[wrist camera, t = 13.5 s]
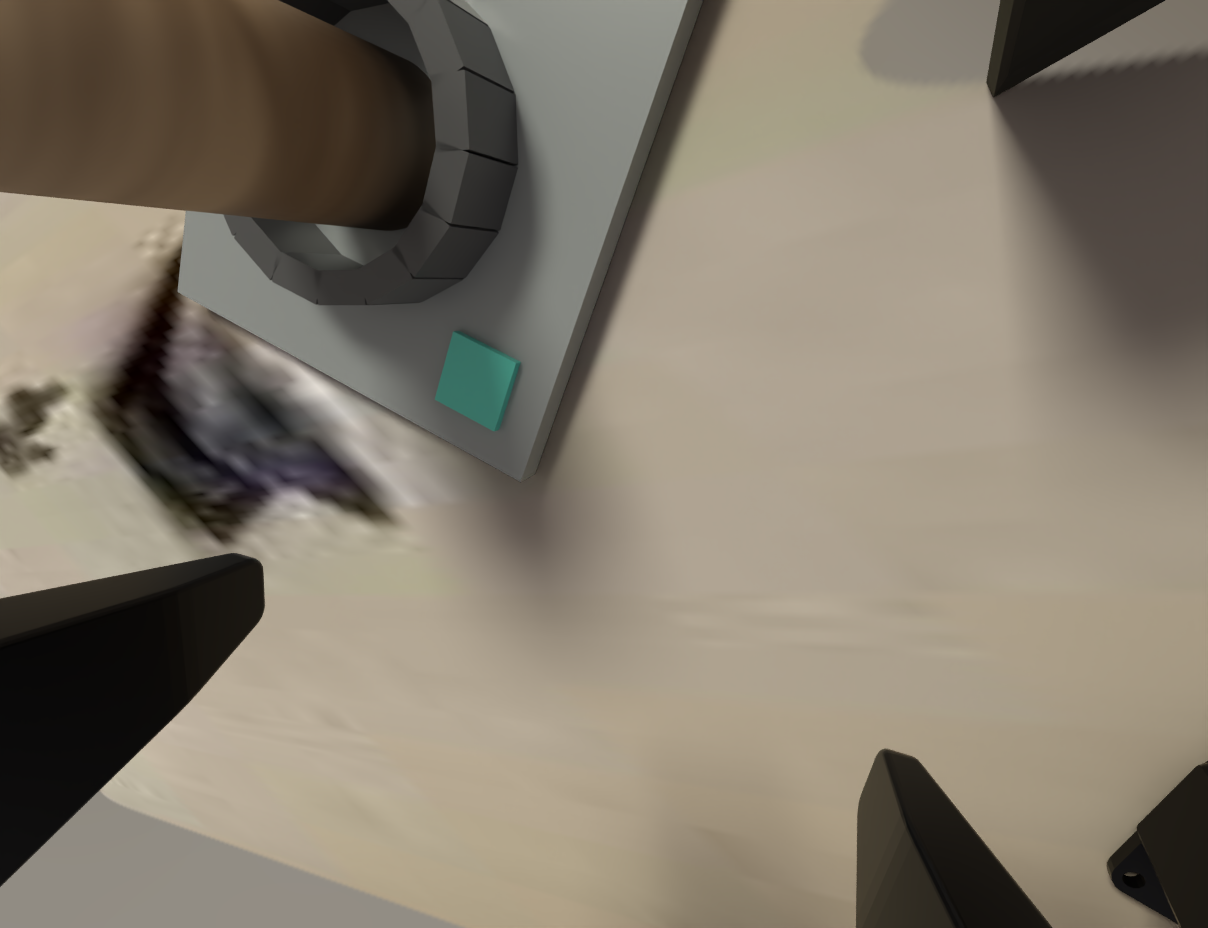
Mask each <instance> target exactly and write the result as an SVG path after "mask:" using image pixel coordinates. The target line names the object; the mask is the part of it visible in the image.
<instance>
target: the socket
mask: <svg viewBox="0 0 1208 928" xmlns="http://www.w3.org/2000/svg"><path fill="white" fill-rule="evenodd" d="M279 1H281V2H283V3H285V4H288V5H290V6H292V7H294V8H296V9H298V10H301V11H303V12H305V13H307V14H309V15H311V16H314V17H316V18H318V19H320V20H322V21H324V22H326V23H329V24H331V25H333V26H335V27H337V28H339V29H342V30H344V31H346V32H348V33H350V34H352V35H355V36H357V37H359V38H361V39H363V40H365V41H368V42H370V43H372V44H374V45H376V46H378V47H381V48H383V49H385V50H387V51H389V52H391V53H393V54H396V55H398V56H400V57H402V58H404V59H406V60H409V61H410V62H412V63H413V64H415V65H416V66H418V67H419V68H420V69H421V70H422V71H423V72H424V73H425V74H426V75H427V76H428V77H429V79H430V80H431V82H432V96H433V110H434V124H435V138H436V149H435V153H434V157H433V161H432V166H431V170H430V174H429V178H428V183H427V187H426V191H425V195H424V200H423V204H422V206H421V207H420V209H419V210H418V212H417V213H416V215H415V216H414V218H413V219H412V221H411V222H410V224H409V225H408V227H406V228H403V229H400V230H394V231H383V230H373V229H363V228H353V227H343V226H334V225H324V224H314V223H304V222H294V221H284V220H274V219H264V218H254V217H244V216H234V215H224V214H214V213H205V212H195V211H186V215H185V225H184V235H183V245H182V255H181V265H180V275H179V285H178V292H179V293H180V294H182V295H184V296H186V297H188V298H189V299H191V300H193V301H195V302H197V303H198V304H200V305H202V306H204V307H206V308H207V309H209V310H211V311H213V312H215V313H216V314H218V315H220V316H222V317H224V318H225V319H227V320H229V321H231V322H233V323H234V324H236V325H238V326H240V327H242V328H244V329H245V330H247V331H249V332H251V333H253V334H254V335H256V336H258V337H260V338H262V339H263V340H265V341H267V342H269V343H271V344H272V345H274V346H276V347H278V348H280V349H281V350H283V351H285V352H287V353H289V354H290V355H292V356H294V357H296V358H298V359H299V360H301V361H303V362H305V363H307V364H308V365H310V366H312V367H314V368H316V369H317V370H319V371H321V372H323V373H325V374H326V375H328V376H330V377H332V378H334V379H335V380H337V381H339V382H341V383H343V384H344V385H346V386H348V387H350V388H352V389H353V390H355V391H357V392H359V393H361V394H363V395H364V396H366V397H368V398H370V399H372V400H373V401H375V402H377V403H379V404H381V405H382V406H384V407H386V408H388V409H390V410H391V411H393V412H395V413H397V414H399V415H400V416H402V417H404V418H406V419H408V420H409V421H411V422H413V423H415V424H417V425H418V426H420V427H422V428H424V429H426V430H427V431H429V432H431V433H433V434H435V435H436V436H438V437H440V438H442V439H444V440H445V441H447V442H449V443H451V444H453V445H454V446H456V447H458V448H460V449H462V450H463V451H465V452H467V453H469V454H471V455H473V456H474V457H476V458H478V459H480V460H482V461H483V462H485V463H487V464H489V465H491V466H492V467H494V468H496V469H498V470H500V471H501V472H503V473H505V474H507V475H509V476H510V477H512V478H514V479H516V480H518V481H519V482H521V481H523V480H525V479H527V478H529V477H531V476H533V475H534V474H535V473H536V470H537V467H538V464H539V461H540V459H541V456H542V453H543V450H544V447H545V445H546V442H547V439H548V436H549V433H550V430H551V428H552V425H553V422H554V419H555V416H556V414H557V411H558V408H559V405H560V402H561V399H562V397H563V394H564V391H565V388H566V385H567V383H568V380H569V377H570V374H571V371H572V369H573V366H574V363H575V360H576V357H577V354H578V352H579V349H580V346H581V343H582V340H583V338H584V335H585V332H586V329H587V326H588V323H589V321H590V318H591V315H592V312H593V309H594V307H595V304H596V301H597V298H598V295H599V293H600V290H601V287H602V284H603V281H604V278H605V276H606V273H607V270H608V267H609V264H610V262H611V259H612V256H613V253H614V250H615V247H616V245H617V242H618V239H619V236H620V233H621V231H622V228H623V225H624V222H625V219H626V217H627V214H628V211H629V208H630V205H631V202H632V200H633V197H634V194H635V191H636V188H637V186H638V183H639V180H640V177H641V174H642V171H643V169H644V166H645V163H646V160H647V157H648V155H649V152H650V149H651V146H652V143H653V141H654V138H655V135H656V132H657V129H658V126H659V124H660V121H661V118H662V115H663V112H664V110H665V107H666V104H667V101H668V98H669V95H670V93H671V90H672V87H673V84H674V81H675V79H676V76H677V73H678V70H679V67H680V65H681V62H682V59H683V56H684V53H685V50H686V48H687V45H688V42H689V39H690V36H691V34H692V31H693V28H694V25H695V22H696V19H697V17H698V14H699V11H700V8H701V5H702V3H703V0H279Z"/></svg>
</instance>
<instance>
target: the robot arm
mask: <svg viewBox="0 0 1208 928" xmlns="http://www.w3.org/2000/svg"><path fill="white" fill-rule="evenodd" d="M264 608H265V597H264V575H263V566H262V564H261V563H260V561H258V560H257V559H255V558H251V557H248V556H245V555H241V554H237V553H230V554H225V555H220V556H214V557H209V558H204V559H199V560H194V561H189V562H184V563H179V564H174V565H169V566H164V567H158V568H153V569H148V570H143V571H138V572H133V573H128V574H123V575H118V576H113V577H108V578H102V579H97V580H92V581H87V582H82V583H77V584H72V585H67V586H62V587H57V588H51V589H46V590H41V591H36V592H31V593H26V594H21V595H16V596H11V597H6V598H1V599H0V887H1V886H2V885H3V883H5V882H6V881H7V880H8V879H9V878H10V877H11V876H12V875H13V874H14V873H15V872H16V871H17V870H18V869H19V868H20V867H21V866H22V865H23V864H24V863H25V862H26V861H27V860H28V859H30V858H31V857H32V856H33V855H34V854H35V853H36V852H37V851H38V850H39V849H40V848H41V847H42V846H43V845H44V844H45V843H46V842H47V841H48V840H49V839H50V838H51V837H52V836H53V835H54V834H55V833H56V832H57V831H58V830H59V829H60V828H61V827H62V826H63V825H64V824H65V823H66V822H68V821H69V820H70V819H71V818H72V817H73V816H74V815H75V814H76V813H77V812H78V811H79V810H80V809H81V808H82V807H83V806H84V805H85V804H86V803H87V802H88V801H89V800H90V799H91V798H92V797H93V796H94V795H95V794H96V793H97V792H98V791H99V790H100V789H101V788H102V787H103V786H105V785H106V784H107V783H108V782H109V781H110V780H111V779H112V778H113V777H114V776H115V775H116V774H117V773H118V772H119V771H120V770H121V769H122V768H123V767H124V766H125V765H126V764H127V763H128V762H129V761H130V760H131V759H132V758H133V757H134V756H135V755H136V754H137V753H138V752H139V751H140V750H141V749H143V748H144V747H145V746H146V745H147V744H148V743H149V742H150V741H151V740H152V739H153V738H154V737H155V736H156V735H157V734H158V733H159V732H160V731H161V730H162V729H163V728H164V727H165V726H166V725H167V724H168V723H169V722H170V721H171V720H172V719H173V718H174V717H175V716H176V715H177V714H178V713H179V712H180V711H181V710H182V709H183V708H184V707H185V706H186V705H187V704H188V703H189V702H190V701H191V700H192V699H193V698H194V697H195V695H196V694H197V693H198V692H199V691H200V690H201V689H202V688H203V686H204V685H205V684H206V683H207V682H208V681H209V679H210V678H211V677H212V676H213V675H214V674H215V672H216V671H217V670H218V669H219V668H220V667H221V665H222V664H223V663H224V662H225V661H226V660H227V659H228V657H229V656H230V655H231V654H232V653H233V652H234V650H235V649H236V648H237V647H238V646H239V645H240V643H241V642H242V641H243V640H244V639H245V638H246V636H247V635H248V634H249V633H250V632H251V631H252V629H253V628H254V627H255V626H256V625H257V624H258V622H259V621H260V619H261V617H262V615H263V612H264ZM1107 869H1108V872H1109V874H1110V877H1111V880H1112V882H1113V883H1114V885H1115V886H1116V887H1117V888H1118V889H1119V890H1121V891H1122V892H1124V893H1125V894H1127V895H1129V896H1130V897H1132V898H1134V899H1136V900H1137V901H1139V902H1141V903H1142V904H1144V905H1146V906H1148V907H1149V908H1151V909H1153V910H1154V911H1156V912H1158V913H1160V914H1161V915H1163V916H1165V917H1167V918H1168V919H1170V920H1172V921H1173V922H1175V923H1177V924H1179V927H1180V928H1208V761H1207V762H1206V763H1204V764H1201V765H1198V766H1196V767H1195V768H1194V769H1193V770H1192V771H1191V772H1190V773H1189V774H1188V775H1187V776H1186V777H1185V778H1184V779H1183V780H1182V781H1181V782H1180V783H1179V784H1178V785H1177V786H1176V787H1175V788H1174V789H1173V790H1172V791H1171V792H1170V793H1169V794H1168V795H1167V796H1166V797H1165V798H1164V799H1163V800H1162V801H1161V802H1160V803H1159V804H1158V805H1157V806H1156V807H1155V808H1154V809H1153V810H1152V811H1151V812H1150V813H1149V814H1148V815H1147V816H1146V817H1145V818H1144V819H1143V820H1142V821H1141V822H1140V823H1139V824H1138V826H1137V831H1136V832H1135V833H1134V834H1133V835H1132V836H1131V837H1130V838H1129V839H1128V840H1127V841H1126V842H1125V843H1124V844H1123V845H1122V846H1121V847H1120V848H1119V849H1118V850H1117V851H1116V852H1115V853H1114V854H1113V855H1112V856H1111V857H1110V858H1109V860H1108V862H1107ZM1127 872H1136V873H1138V875H1136V876H1126V875H1124V874H1125V873H1127ZM856 928H1052V926H1051V925H1050V924H1049V923H1048V921H1047V920H1046V919H1045V918H1044V916H1043V915H1042V914H1041V913H1040V911H1039V910H1038V909H1037V908H1036V906H1035V905H1034V904H1033V903H1032V901H1031V900H1030V899H1029V898H1028V896H1027V895H1026V894H1025V893H1024V891H1023V890H1022V889H1021V888H1020V886H1019V885H1018V884H1017V883H1016V881H1015V880H1014V879H1013V878H1012V876H1011V875H1010V874H1009V873H1008V871H1007V870H1006V869H1005V868H1004V866H1003V865H1002V864H1001V863H1000V861H999V860H998V859H997V858H996V856H995V855H994V854H993V853H992V851H991V850H990V849H989V848H988V846H987V845H986V844H985V843H984V841H983V840H982V839H981V838H980V836H979V835H978V834H977V833H976V831H975V830H974V829H973V828H972V826H971V825H970V824H969V823H968V821H967V820H966V819H965V818H964V816H963V815H962V814H961V813H960V811H959V810H958V809H957V808H956V806H955V805H954V804H953V803H952V801H951V800H950V799H949V798H948V796H947V795H946V794H945V793H944V792H943V790H942V789H941V788H940V787H939V785H938V784H937V783H936V782H935V780H934V779H933V778H932V777H931V775H930V774H929V773H928V772H927V770H926V769H925V768H924V767H923V765H922V764H921V763H920V762H919V761H918V760H917V759H916V758H915V757H912V756H910V755H906V754H903V753H900V752H896V751H893V750H890V749H882V750H880V751H879V753H878V754H877V756H876V758H875V760H874V763H873V765H872V768H871V771H870V773H869V776H868V778H867V781H866V783H865V786H864V788H863V791H862V794H861V797H860V800H859V806H858V814H857V891H856Z"/></svg>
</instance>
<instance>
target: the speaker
mask: <svg viewBox="0 0 1208 928" xmlns="http://www.w3.org/2000/svg"><path fill="white" fill-rule="evenodd" d="M1163 1H1165V0H1000V6H999V12H998V18H997V24H996V30H995V35H994V41H993V47H992V53H991V58H990V64H989V70H988V76H987V84H988V87H989V89H990V91H991V93H992V95H993V97H995V96H997V95H999V94H1001V93H1002V92H1004V91H1006V90H1008V89H1010V88H1011V87H1013V86H1015V85H1017V84H1018V83H1020V82H1022V81H1024V80H1025V79H1027V78H1029V77H1031V76H1032V75H1034V74H1036V73H1038V72H1040V71H1041V70H1043V69H1045V68H1047V67H1048V66H1050V65H1052V64H1054V63H1055V62H1057V61H1059V60H1061V59H1062V58H1064V57H1066V56H1068V55H1070V54H1071V53H1073V52H1075V51H1077V50H1078V49H1080V48H1082V47H1084V46H1085V45H1087V44H1089V43H1091V42H1093V41H1094V40H1096V39H1098V38H1100V37H1101V36H1103V35H1105V34H1107V33H1108V32H1110V31H1112V30H1114V29H1115V28H1117V27H1119V26H1121V25H1122V24H1124V23H1126V22H1128V21H1130V20H1131V19H1133V18H1135V17H1137V16H1138V15H1140V14H1142V13H1144V12H1146V11H1147V10H1149V9H1151V8H1153V7H1154V6H1156V5H1158V4H1159V3H1161V2H1163Z"/></svg>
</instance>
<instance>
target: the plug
mask: <svg viewBox="0 0 1208 928" xmlns="http://www.w3.org/2000/svg"><path fill="white" fill-rule="evenodd" d="M435 149H436V138H435V124H434V110H433V96H432V82H431V80H430V79H429V77H428V76H427V75H426V74H425V73H424V72H423V71H422V70H421V69H420V68H419V67H418V66H416V65H415V64H413V63H412V62H410V61H409V60H406V59H404V58H402V57H400V56H398V55H396V54H393V53H391V52H389V51H387V50H385V49H383V48H381V47H378V46H376V45H374V44H372V43H370V42H368V41H365V40H363V39H361V38H359V37H357V36H355V35H352V34H350V33H348V32H346V31H344V30H342V29H339V28H337V27H335V26H333V25H331V24H329V23H326V22H324V21H322V20H320V19H318V18H316V17H314V16H311V15H309V14H307V13H305V12H303V11H301V10H298V9H296V8H294V7H292V6H290V5H288V4H285V3H283V2H281V1H279V0H0V192H6V193H16V194H26V195H36V196H46V197H56V198H66V199H76V200H85V201H95V202H105V203H115V204H125V205H135V206H145V207H155V208H165V209H175V210H185V211H195V212H205V213H214V214H224V215H234V216H244V217H254V218H264V219H274V220H284V221H294V222H304V223H314V224H324V225H334V226H343V227H353V228H363V229H373V230H383V231H394V230H400V229H403V228H406V227H408V225H409V224H410V222H411V221H412V219H413V218H414V216H415V215H416V213H417V212H418V210H419V209H420V207H421V206H422V204H423V200H424V195H425V191H426V187H427V183H428V178H429V174H430V170H431V166H432V161H433V157H434V153H435Z"/></svg>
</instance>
